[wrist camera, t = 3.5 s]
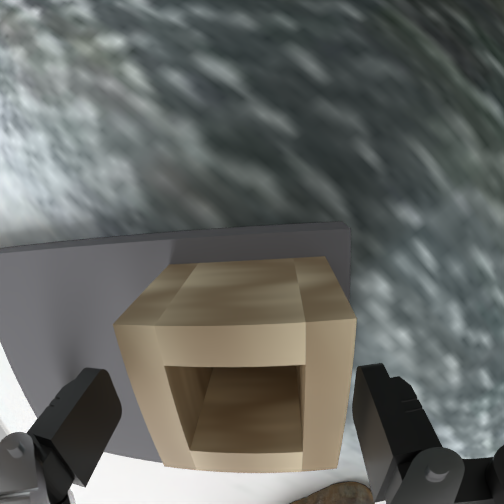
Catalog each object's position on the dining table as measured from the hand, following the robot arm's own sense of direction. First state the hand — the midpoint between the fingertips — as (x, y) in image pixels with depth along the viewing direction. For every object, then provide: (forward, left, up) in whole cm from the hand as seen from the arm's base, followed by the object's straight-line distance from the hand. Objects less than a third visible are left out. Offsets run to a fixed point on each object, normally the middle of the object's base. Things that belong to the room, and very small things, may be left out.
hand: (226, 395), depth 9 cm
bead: (-1, 0, -4) cm, 4 cm away
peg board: (+5, +3, -6) cm, 8 cm away
